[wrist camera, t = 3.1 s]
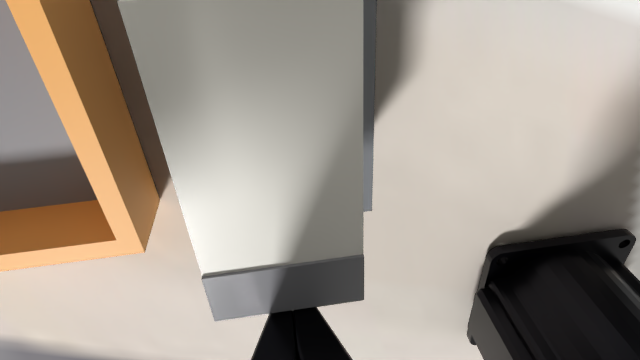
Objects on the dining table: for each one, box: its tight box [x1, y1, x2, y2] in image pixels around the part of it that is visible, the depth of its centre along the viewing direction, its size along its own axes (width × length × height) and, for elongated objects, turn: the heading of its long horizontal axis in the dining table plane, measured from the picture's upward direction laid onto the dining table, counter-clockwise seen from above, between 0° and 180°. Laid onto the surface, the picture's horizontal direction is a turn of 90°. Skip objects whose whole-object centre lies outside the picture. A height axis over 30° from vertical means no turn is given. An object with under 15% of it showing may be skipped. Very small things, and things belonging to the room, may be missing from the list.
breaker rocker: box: [117, 0, 364, 322], centre depth 7 cm, size 3×6×1 cm, turn 3°
